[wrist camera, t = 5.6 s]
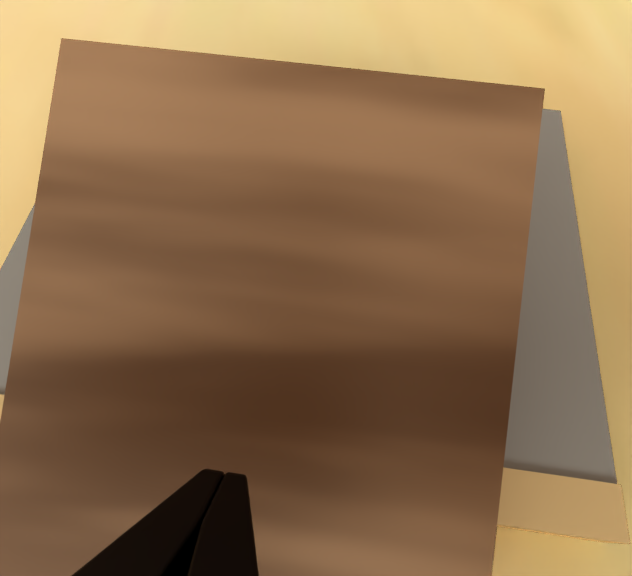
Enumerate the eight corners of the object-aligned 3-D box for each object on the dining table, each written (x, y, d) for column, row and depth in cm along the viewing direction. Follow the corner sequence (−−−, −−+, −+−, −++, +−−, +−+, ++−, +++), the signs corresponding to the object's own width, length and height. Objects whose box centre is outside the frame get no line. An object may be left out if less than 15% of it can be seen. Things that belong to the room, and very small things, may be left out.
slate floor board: (602, 542, 14) (630, 543, 13) (-60, 441, 15) (-92, 434, 14) (548, 130, 23) (562, 107, 21) (117, 82, 24) (107, 58, 22)
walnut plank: (479, 691, 10) (544, 88, 11) (-30, 606, 11) (61, 38, 11) (446, 605, 13) (499, 136, 14) (49, 542, 14) (118, 95, 14)
